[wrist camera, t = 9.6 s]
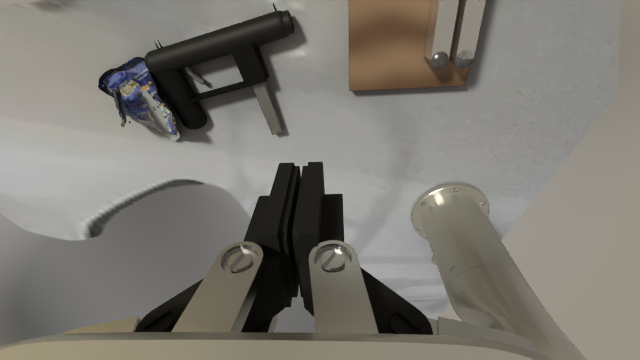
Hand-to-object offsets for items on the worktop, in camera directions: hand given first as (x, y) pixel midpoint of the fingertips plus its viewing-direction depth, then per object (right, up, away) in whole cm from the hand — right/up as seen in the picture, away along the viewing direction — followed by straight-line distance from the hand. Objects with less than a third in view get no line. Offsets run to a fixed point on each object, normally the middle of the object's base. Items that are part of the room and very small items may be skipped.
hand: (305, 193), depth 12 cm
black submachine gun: (-11, +14, +30) cm, 35 cm away
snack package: (-24, +12, +32) cm, 42 cm away
